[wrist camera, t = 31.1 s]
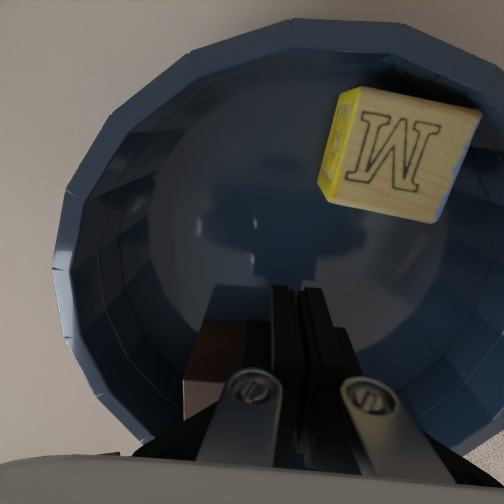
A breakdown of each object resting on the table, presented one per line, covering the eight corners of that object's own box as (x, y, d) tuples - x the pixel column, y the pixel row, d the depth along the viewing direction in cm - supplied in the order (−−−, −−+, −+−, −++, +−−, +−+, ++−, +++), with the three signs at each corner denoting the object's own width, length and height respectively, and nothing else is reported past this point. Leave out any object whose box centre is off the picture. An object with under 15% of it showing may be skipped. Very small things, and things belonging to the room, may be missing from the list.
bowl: (559, 65, 11) (708, 35, 7) (442, 424, 16) (494, 513, 13) (91, 43, 11) (4, 4, 8) (127, 400, 17) (87, 480, 13)
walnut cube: (286, 326, 14) (291, 388, 11) (279, 393, 15) (282, 466, 12) (202, 320, 14) (182, 379, 11) (202, 386, 16) (184, 458, 12)
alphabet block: (399, 203, 12) (439, 227, 9) (313, 185, 12) (327, 204, 9) (432, 111, 11) (488, 107, 8) (338, 91, 11) (362, 81, 8)
